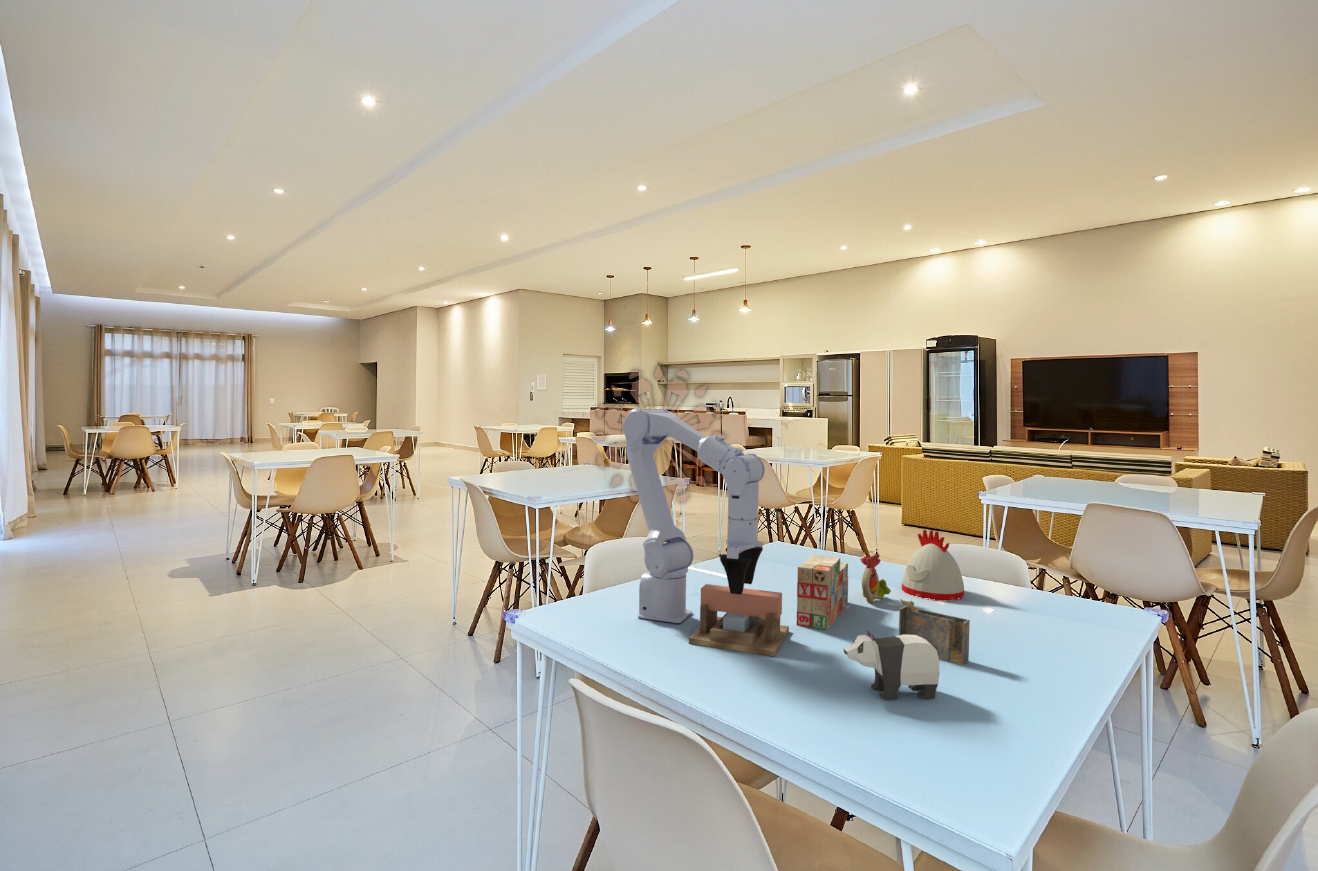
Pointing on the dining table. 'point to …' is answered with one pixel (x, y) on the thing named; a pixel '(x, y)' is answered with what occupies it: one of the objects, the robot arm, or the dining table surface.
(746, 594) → the terracotta rectangular bar
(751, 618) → the pale grey pillar block
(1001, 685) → the dining table surface
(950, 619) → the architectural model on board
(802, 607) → the stack of blocks
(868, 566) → the bird rattle
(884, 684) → the giant panda
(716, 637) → the jig
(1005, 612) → the dining table surface
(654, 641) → the dining table surface
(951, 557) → the kitchen timer
